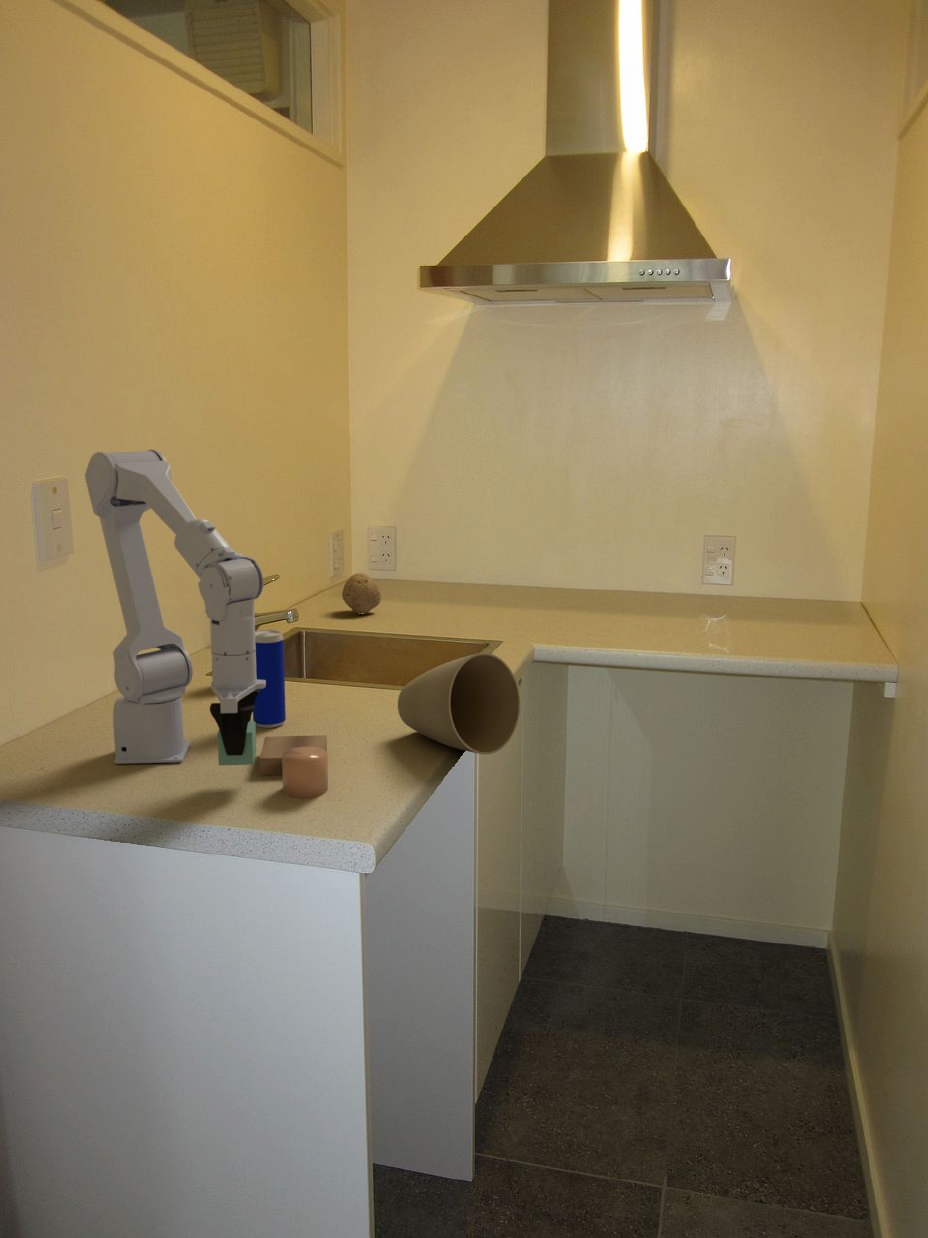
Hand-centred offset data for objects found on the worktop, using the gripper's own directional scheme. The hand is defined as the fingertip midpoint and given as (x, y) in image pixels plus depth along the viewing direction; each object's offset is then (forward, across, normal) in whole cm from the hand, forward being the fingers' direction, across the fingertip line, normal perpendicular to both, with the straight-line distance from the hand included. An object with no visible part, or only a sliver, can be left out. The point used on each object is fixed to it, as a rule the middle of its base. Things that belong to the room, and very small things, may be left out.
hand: (237, 747), depth 136 cm
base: (+5, +8, -7) cm, 12 cm away
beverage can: (+6, +26, -2) cm, 27 cm away
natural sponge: (+6, +106, -17) cm, 107 cm away
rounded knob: (+5, -2, -9) cm, 11 cm away
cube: (+2, 0, 0) cm, 2 cm away
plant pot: (+2, +21, -25) cm, 33 cm away
